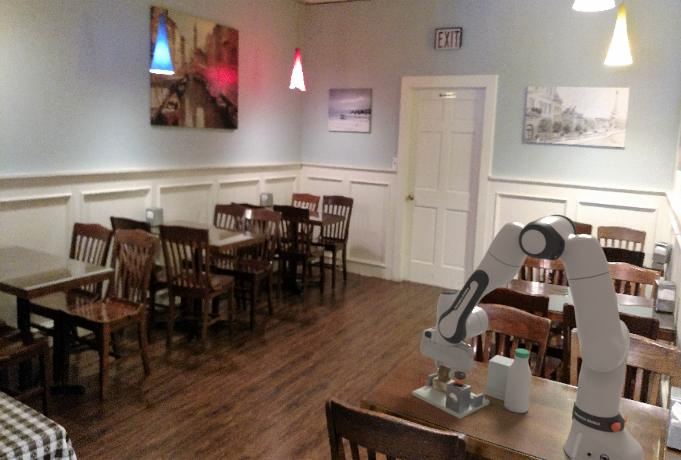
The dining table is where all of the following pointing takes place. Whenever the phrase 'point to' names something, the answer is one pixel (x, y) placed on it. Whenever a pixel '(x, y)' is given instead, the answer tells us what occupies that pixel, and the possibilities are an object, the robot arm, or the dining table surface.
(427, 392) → the rail bed
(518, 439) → the dining table surface
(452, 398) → the cabinet
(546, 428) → the dining table surface
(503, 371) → the supplement box
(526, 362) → the milk bottle
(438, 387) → the carriage
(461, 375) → the knob
